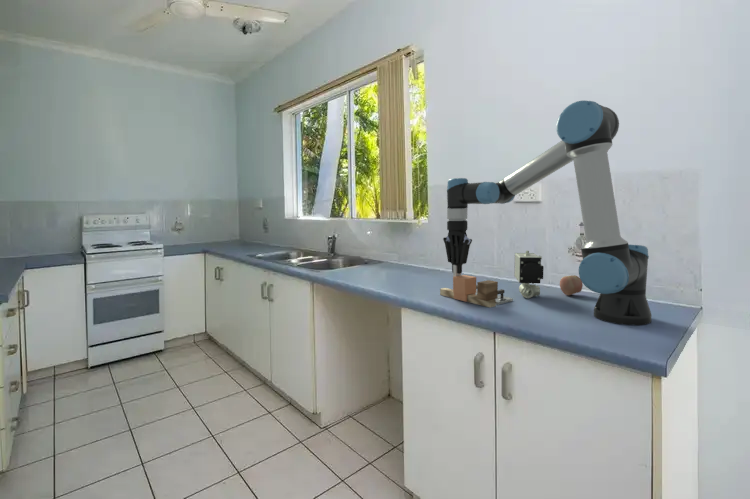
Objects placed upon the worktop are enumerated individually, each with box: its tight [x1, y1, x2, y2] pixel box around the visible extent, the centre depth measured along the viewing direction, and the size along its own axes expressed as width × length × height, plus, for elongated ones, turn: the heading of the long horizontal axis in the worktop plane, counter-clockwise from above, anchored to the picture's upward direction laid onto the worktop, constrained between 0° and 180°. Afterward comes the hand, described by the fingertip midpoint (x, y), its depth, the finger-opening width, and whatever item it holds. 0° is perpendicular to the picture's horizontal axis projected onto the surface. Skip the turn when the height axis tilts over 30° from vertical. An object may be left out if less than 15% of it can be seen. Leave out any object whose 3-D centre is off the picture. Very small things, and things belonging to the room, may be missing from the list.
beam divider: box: [439, 279, 505, 308], centre depth 150 cm, size 25×12×8 cm, turn 34°
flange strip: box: [475, 289, 514, 306], centre depth 153 cm, size 22×9×1 cm, turn 34°
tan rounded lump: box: [559, 274, 584, 297], centre depth 153 cm, size 8×8×8 cm
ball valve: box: [513, 250, 544, 299], centre depth 152 cm, size 18×8×18 cm, turn 168°
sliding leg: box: [452, 274, 477, 303], centre depth 151 cm, size 6×12×8 cm, turn 124°
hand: (456, 281), depth 152 cm, fingers closed
